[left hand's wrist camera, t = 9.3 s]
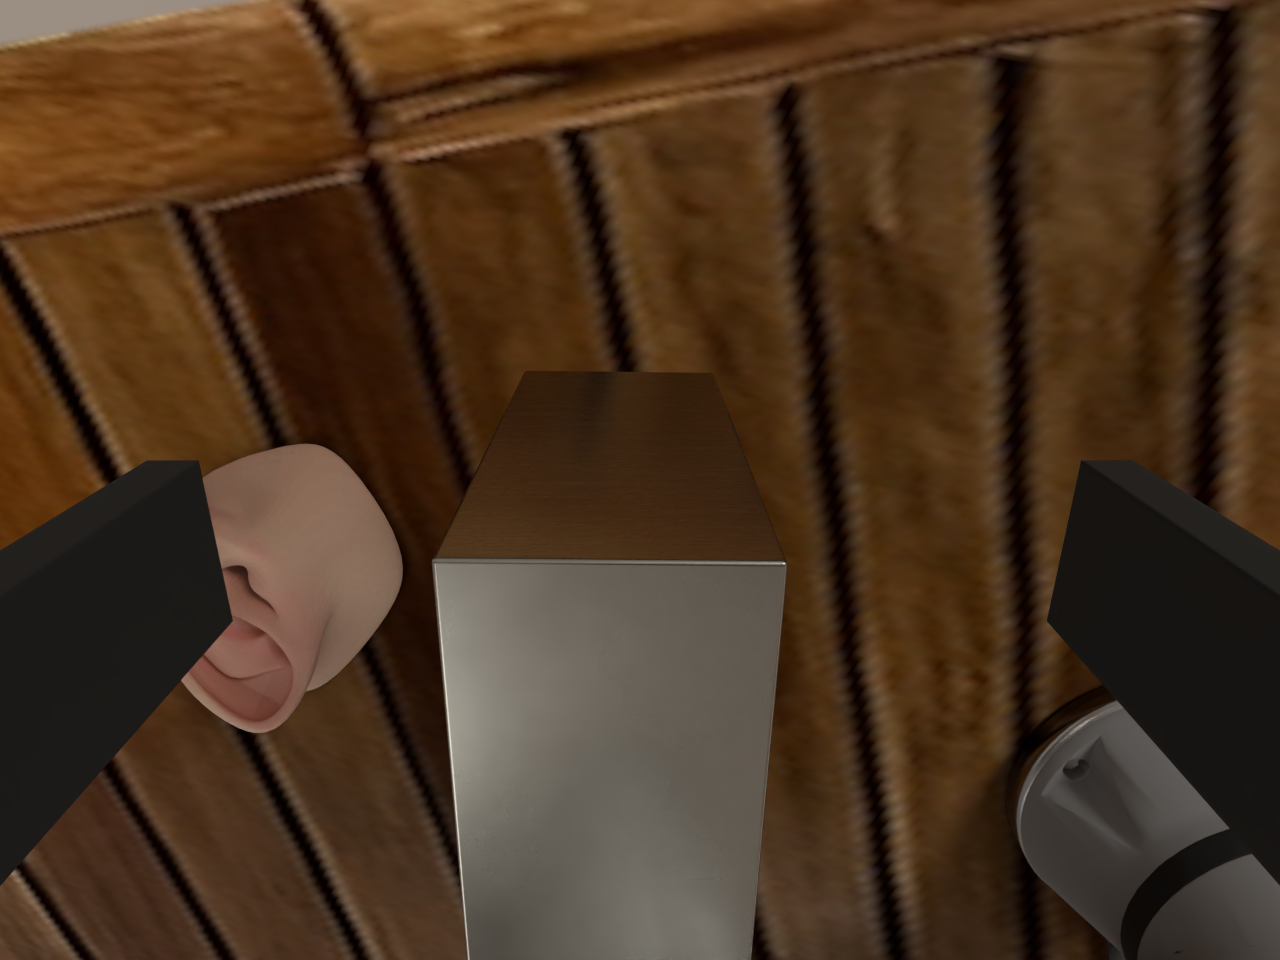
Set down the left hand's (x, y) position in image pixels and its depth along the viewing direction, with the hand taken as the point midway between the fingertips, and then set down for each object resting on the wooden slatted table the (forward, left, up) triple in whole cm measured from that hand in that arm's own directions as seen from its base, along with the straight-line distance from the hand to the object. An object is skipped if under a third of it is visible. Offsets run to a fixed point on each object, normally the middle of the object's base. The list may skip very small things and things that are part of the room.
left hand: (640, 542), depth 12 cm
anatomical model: (-9, +20, -25) cm, 33 cm away
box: (-14, +4, -14) cm, 20 cm away
